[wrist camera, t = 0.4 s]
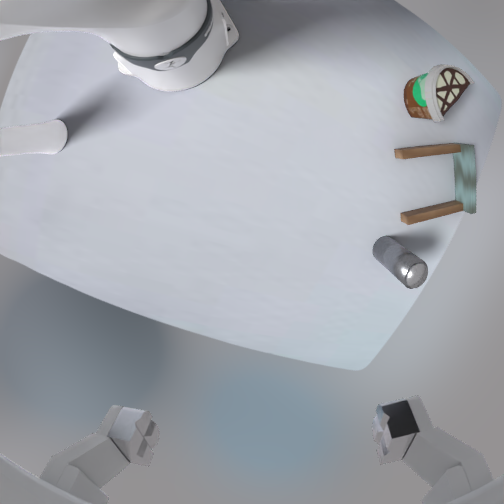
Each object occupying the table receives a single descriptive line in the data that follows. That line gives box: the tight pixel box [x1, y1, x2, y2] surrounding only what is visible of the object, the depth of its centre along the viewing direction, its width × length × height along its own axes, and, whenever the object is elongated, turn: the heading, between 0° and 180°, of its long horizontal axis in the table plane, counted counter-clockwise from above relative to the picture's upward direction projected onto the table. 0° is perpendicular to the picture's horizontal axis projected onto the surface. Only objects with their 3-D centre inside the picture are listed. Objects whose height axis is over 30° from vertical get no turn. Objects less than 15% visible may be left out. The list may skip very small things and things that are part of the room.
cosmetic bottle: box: [0, 120, 67, 156], centre depth 27 cm, size 6×6×22 cm
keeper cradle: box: [394, 143, 476, 225], centre depth 42 cm, size 13×16×5 cm
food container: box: [404, 64, 474, 122], centre depth 34 cm, size 12×6×10 cm, turn 137°
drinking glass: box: [373, 236, 428, 289], centre depth 44 cm, size 5×5×12 cm
